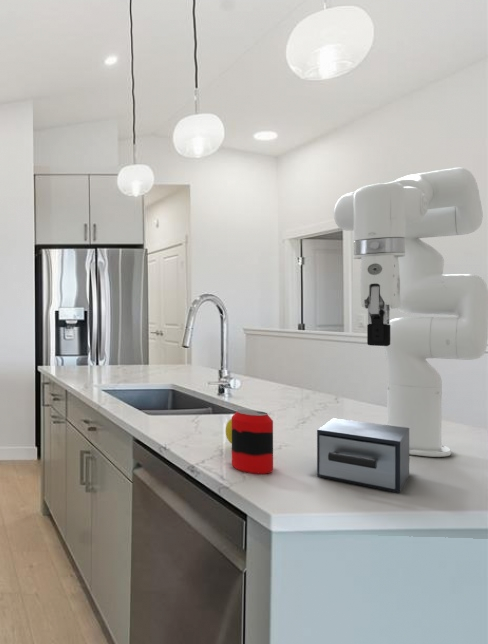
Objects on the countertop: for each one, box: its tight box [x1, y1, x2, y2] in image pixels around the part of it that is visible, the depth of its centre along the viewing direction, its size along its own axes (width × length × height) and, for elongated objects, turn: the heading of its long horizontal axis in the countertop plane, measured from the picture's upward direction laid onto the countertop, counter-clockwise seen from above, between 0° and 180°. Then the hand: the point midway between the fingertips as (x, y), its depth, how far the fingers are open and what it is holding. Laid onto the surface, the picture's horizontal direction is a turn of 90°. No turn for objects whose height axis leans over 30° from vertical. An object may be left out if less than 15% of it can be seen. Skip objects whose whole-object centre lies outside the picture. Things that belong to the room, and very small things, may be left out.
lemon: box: [225, 418, 232, 445], centre depth 122 cm, size 6×6×8 cm
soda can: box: [231, 409, 274, 475], centre depth 107 cm, size 8×8×12 cm
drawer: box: [319, 435, 396, 489], centre depth 99 cm, size 18×11×8 cm, turn 132°
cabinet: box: [316, 417, 410, 494], centre depth 102 cm, size 15×13×10 cm
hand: (378, 345), depth 96 cm, fingers closed
